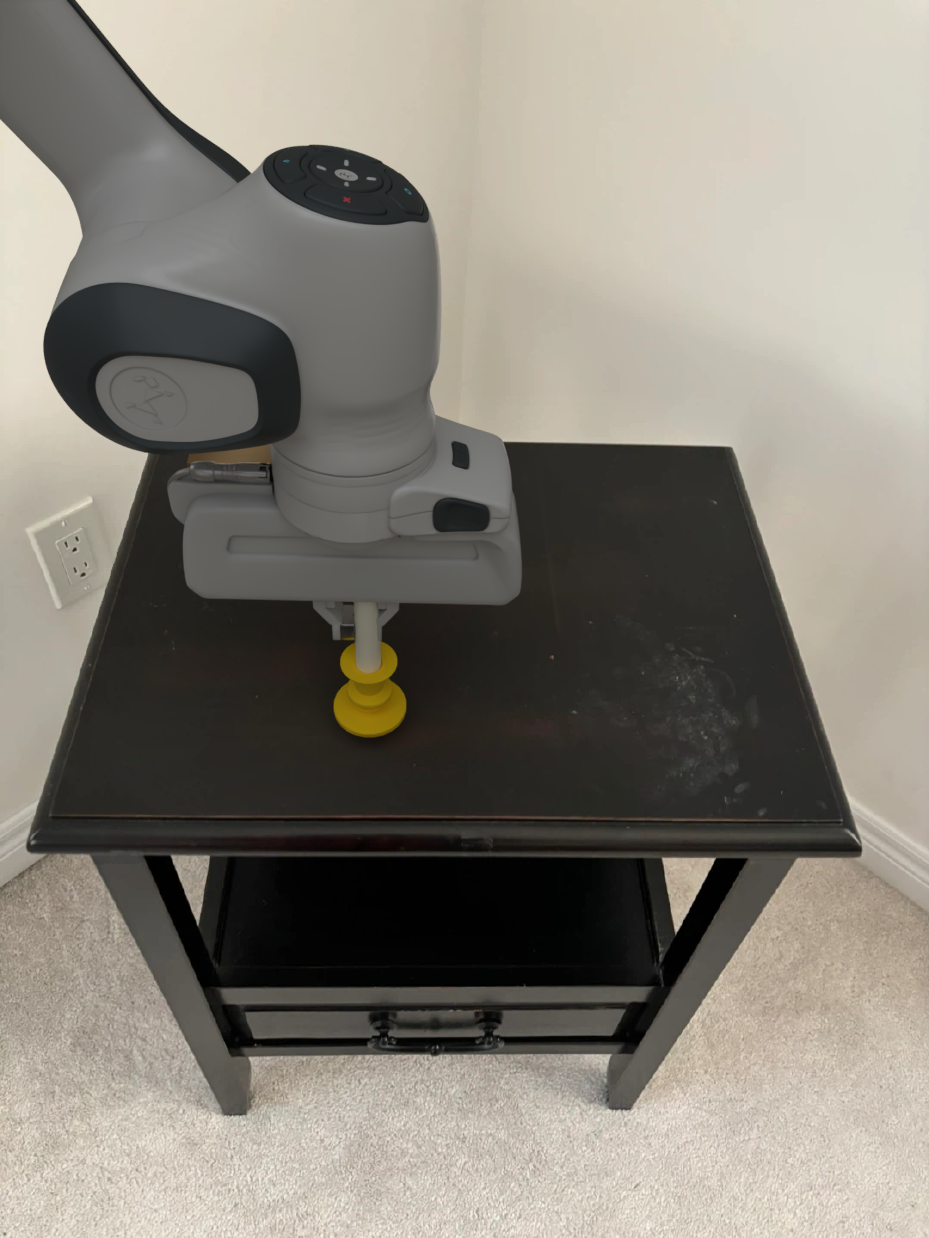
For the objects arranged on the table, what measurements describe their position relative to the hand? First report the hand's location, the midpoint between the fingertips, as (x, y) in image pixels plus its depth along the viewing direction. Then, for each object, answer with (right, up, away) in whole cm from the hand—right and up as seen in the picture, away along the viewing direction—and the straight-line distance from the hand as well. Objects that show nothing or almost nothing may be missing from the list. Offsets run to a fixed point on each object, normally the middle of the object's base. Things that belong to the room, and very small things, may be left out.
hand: (358, 633), depth 61 cm
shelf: (-9, +12, +24) cm, 28 cm away
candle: (0, -6, +6) cm, 8 cm away
